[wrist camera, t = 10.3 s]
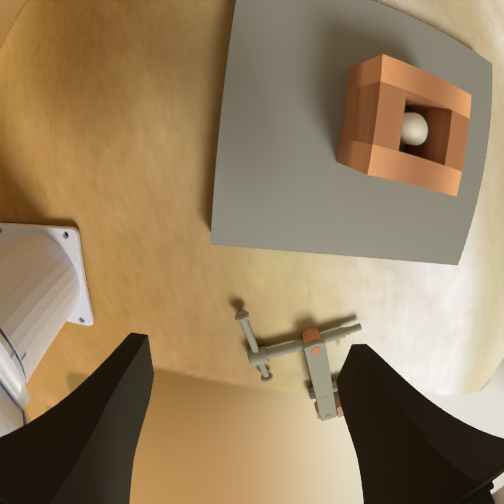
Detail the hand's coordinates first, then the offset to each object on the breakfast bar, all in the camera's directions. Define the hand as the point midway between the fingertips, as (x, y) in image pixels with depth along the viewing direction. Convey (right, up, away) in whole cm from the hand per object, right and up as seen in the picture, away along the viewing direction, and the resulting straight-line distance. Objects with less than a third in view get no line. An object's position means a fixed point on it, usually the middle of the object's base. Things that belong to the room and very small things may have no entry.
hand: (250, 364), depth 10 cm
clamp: (+5, -5, +14) cm, 16 cm away
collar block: (+8, +11, +4) cm, 14 cm away
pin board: (+7, +11, +6) cm, 15 cm away
